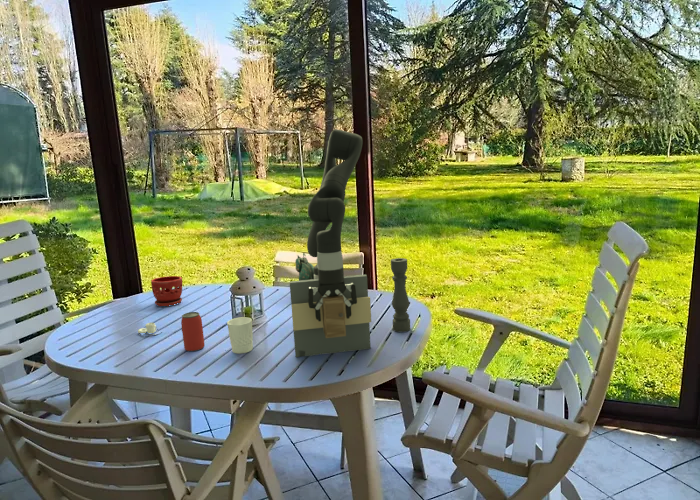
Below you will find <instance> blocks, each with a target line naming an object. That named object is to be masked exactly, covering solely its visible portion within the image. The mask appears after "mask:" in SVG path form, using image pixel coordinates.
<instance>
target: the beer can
mask: <svg viewBox="0 0 700 500" xmlns="http://www.w3.org/2000/svg"><path fill="white" fill-rule="evenodd" d="M202 321H203V319H202V317H201V314H200V313H199V312H198V311H190V312H186V313H184V314H182V315H181V321H180V324H181V332H182V340H183V348H184V350H185V351H187V352H196V351H199V350H202V349H203V348H204V347H205V336H204V329H203V322H202Z"/></svg>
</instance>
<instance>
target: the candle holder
mask: <svg viewBox="0 0 700 500" xmlns="http://www.w3.org/2000/svg"><path fill="white" fill-rule="evenodd" d="M390 269H391V273H392V275H393V276H391V279H392V281H393V283H394V288H393V289H394V290H393V295H392V299H391V306H392V309H393V310H394V313H393V315H392V318H393V319H392V330H393V331H394V332H397V333H405V332H408V331H411V319H410V314H408V309H409V307H410V300H409V296H408V293H407V288H406V281H407V279H408V276H407V275H406V273H407V271H408V259H407V258H403V257H397V258H393V259H390Z"/></svg>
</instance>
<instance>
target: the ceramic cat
mask: <svg viewBox="0 0 700 500" xmlns="http://www.w3.org/2000/svg"><path fill="white" fill-rule="evenodd" d="M302 256H303V257H301V256H300V255H297V258H296V259H295V271H297V273H298V281H301V280H312V279H314V271H313V269H314V265H313V264H312V263H310V262H309V261H308V259H307V257H306V253H305V252H303V254H302Z"/></svg>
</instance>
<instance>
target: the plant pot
mask: <svg viewBox="0 0 700 500" xmlns="http://www.w3.org/2000/svg"><path fill="white" fill-rule="evenodd" d="M150 281H151V282H150V283H151V289H152V290H151V291H152V295H153V297H154V298H155V301H154V304H155V305H156V306H157V305H158V307H161V306H167V307H170V306H169V305H173V306H175V305H174V304H177V303H179V304H180V303H181V302H182V301H183V297H181V296H182V294H183V278H182V276H177V275H169V276H168V275H167V276H160V277H156V278H153V279H151V280H150ZM177 305H178V304H177Z"/></svg>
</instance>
